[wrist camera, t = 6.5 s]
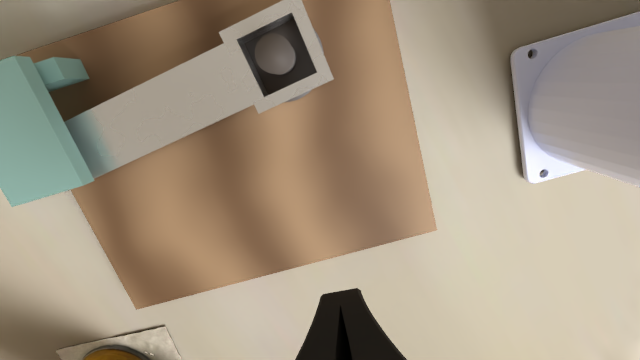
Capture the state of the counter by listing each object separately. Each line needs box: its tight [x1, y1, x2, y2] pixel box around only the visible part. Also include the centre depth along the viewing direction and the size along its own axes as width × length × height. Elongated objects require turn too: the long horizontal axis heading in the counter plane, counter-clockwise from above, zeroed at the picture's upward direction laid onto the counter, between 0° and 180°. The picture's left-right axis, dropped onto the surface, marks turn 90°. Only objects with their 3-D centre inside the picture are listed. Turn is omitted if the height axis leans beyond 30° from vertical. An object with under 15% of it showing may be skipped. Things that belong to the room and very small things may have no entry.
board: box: [16, 0, 437, 310], centre depth 17 cm, size 20×16×4 cm
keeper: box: [0, 56, 94, 207], centre depth 17 cm, size 6×6×4 cm
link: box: [64, 0, 334, 192], centre depth 17 cm, size 15×4×2 cm, turn 114°
